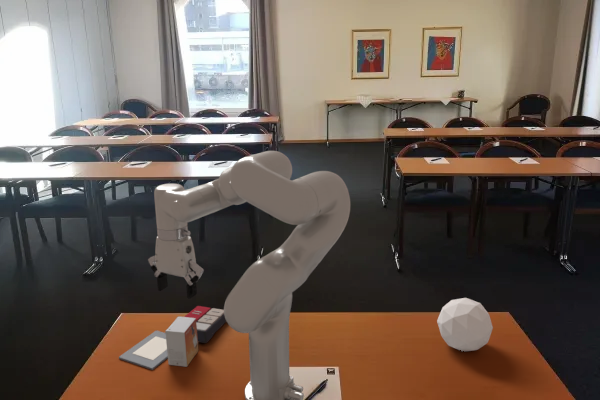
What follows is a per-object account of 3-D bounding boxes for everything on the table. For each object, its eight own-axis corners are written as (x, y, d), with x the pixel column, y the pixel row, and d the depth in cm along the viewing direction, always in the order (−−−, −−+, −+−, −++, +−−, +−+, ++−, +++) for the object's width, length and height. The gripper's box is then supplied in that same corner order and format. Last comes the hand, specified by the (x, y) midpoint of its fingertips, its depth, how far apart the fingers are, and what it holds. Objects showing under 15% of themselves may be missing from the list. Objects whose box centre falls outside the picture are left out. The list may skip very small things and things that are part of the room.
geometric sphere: (446, 359, 139) (421, 312, 142) (489, 336, 141) (464, 289, 144) (464, 364, 125) (436, 311, 128) (512, 338, 127) (483, 287, 130)
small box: (187, 367, 128) (184, 333, 125) (167, 365, 129) (164, 330, 126) (199, 350, 135) (196, 317, 132) (180, 348, 136) (177, 315, 133)
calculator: (228, 309, 150) (205, 329, 136) (228, 321, 151) (206, 343, 137) (197, 304, 153) (171, 324, 139) (197, 316, 154) (172, 337, 140)
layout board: (188, 341, 140) (188, 339, 139) (152, 370, 127) (152, 367, 126) (156, 332, 145) (156, 330, 144) (118, 358, 132) (118, 356, 131)
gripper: (209, 232, 121) (212, 293, 126) (156, 222, 129) (161, 280, 133) (190, 242, 115) (194, 306, 120) (136, 231, 122) (142, 291, 127)
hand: (177, 292), depth 127 cm, fingers open, 9 cm apart
